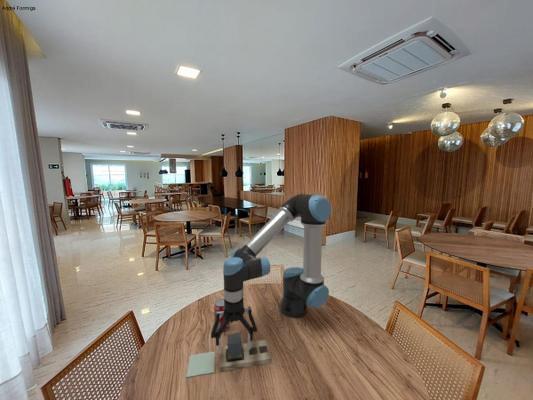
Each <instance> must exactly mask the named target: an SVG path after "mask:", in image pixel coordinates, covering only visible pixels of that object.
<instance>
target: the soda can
mask: <svg viewBox="0 0 533 400" xmlns="http://www.w3.org/2000/svg"><path fill="white" fill-rule="evenodd" d="M213 309H214V310H213V312H214V313H213V314H214V321H215V320H216V312H217V311H219V312H221V311H224V298H220V299H217V300H216V301H215V302H214V307H213ZM224 319H225V316H224V315H222V317H221V318H220V320H219V324H218V327H217V330H216V331H218V329H219V327H220V326H221V324H222V322H223V321H224ZM230 323H231V322H230V321H229V323H228V325H226V327H225V329H224V330H223V332H225V331H227V330H228V328H229V327H230Z"/></svg>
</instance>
